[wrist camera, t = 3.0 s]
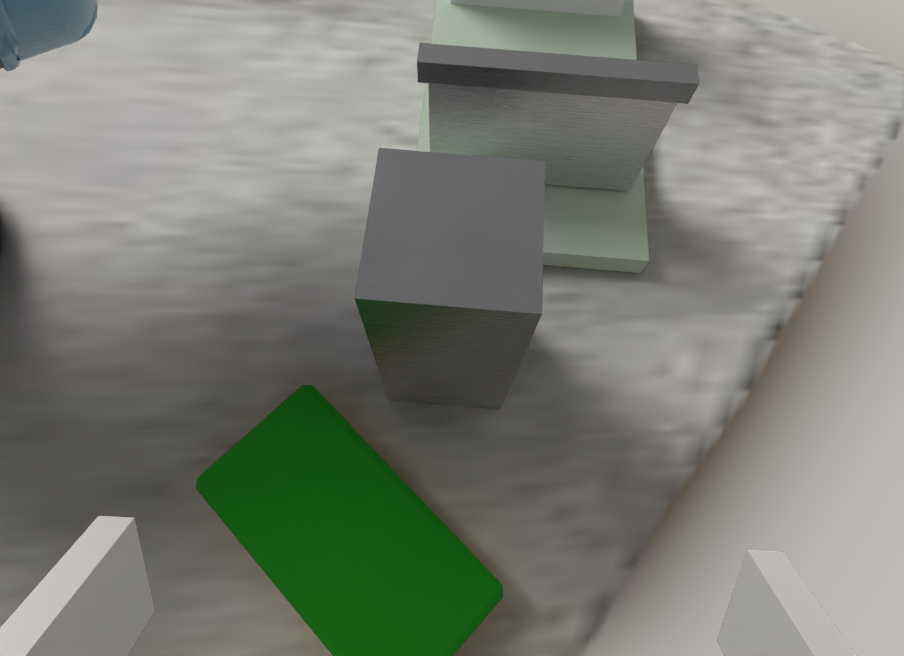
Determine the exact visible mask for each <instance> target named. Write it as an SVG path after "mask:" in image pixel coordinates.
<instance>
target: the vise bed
mask: <svg viewBox="0 0 904 656" xmlns="http://www.w3.org/2000/svg"><path fill="white" fill-rule="evenodd" d="M431 44H442V45H454V46H467V47H480V48H492V49H505V50H518V51H530V52H543V53H556V54H569V55H581V56H594V57H607V58H619V59H632V60H637V55H636V39H635V23H634V6H633V0H437V1H436V9H435V17H434V24H433V32H432V40H431ZM417 151H423V152H430V137H429V89H428V83H426V87H425V94H424V102H423V110H422V118H421V125H420V133H419V141H418V149H417ZM648 262H649V250H648V234H647V218H646V202H645V185H644V169H643V168H642V170H641V172H640V174H639V175H638V177H637V179H636V181H635V183H634V185H633V187H632V188H631V190H630V191H625V190H612V189H600V188H588V187H575V186H563V185H550V184H545V190H544V239H543V265H548V266H560V267H573V268H585V269H597V270H609V271H621V272H634V273H641V271H642V270H643V269H644V267H645V266H646V264H647V263H648Z"/></svg>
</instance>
